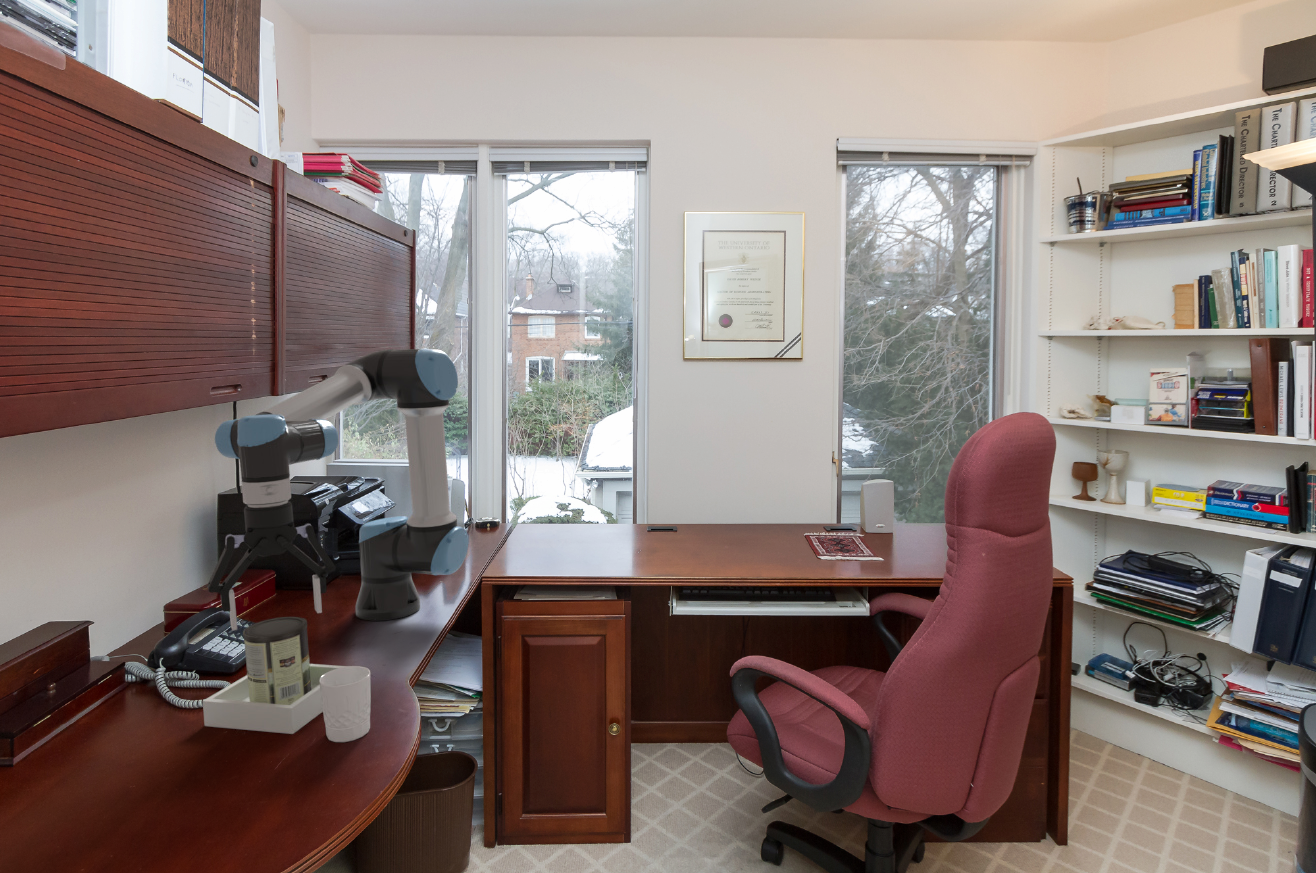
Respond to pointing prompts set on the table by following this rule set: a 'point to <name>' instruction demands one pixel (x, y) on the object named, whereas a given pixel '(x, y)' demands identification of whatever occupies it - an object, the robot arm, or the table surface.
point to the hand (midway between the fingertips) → (277, 619)
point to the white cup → (346, 702)
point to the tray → (264, 707)
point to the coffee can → (277, 660)
